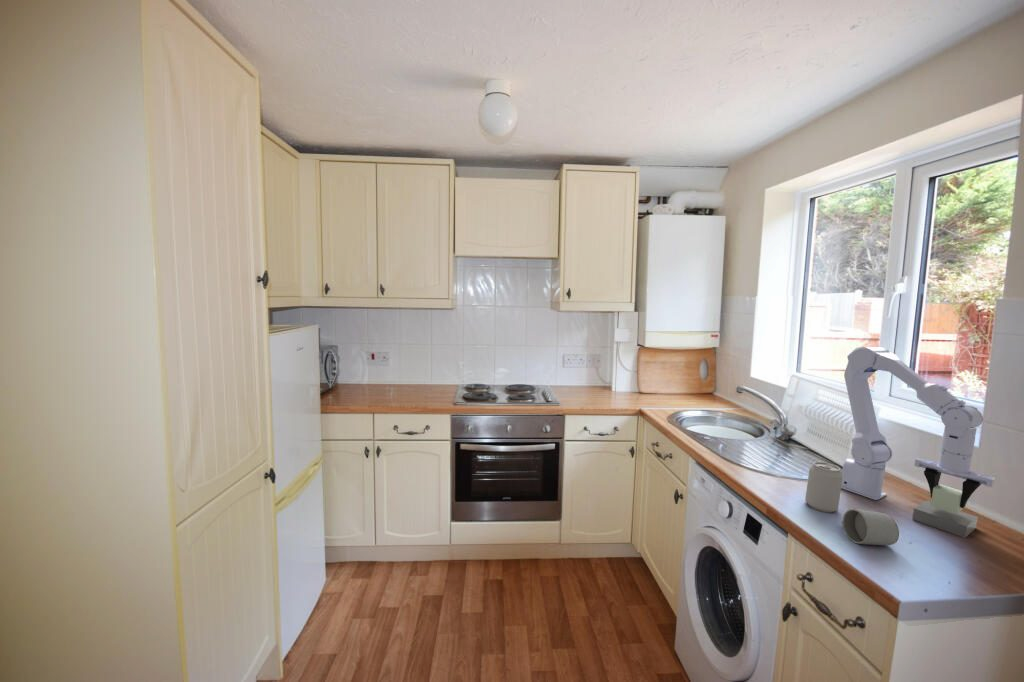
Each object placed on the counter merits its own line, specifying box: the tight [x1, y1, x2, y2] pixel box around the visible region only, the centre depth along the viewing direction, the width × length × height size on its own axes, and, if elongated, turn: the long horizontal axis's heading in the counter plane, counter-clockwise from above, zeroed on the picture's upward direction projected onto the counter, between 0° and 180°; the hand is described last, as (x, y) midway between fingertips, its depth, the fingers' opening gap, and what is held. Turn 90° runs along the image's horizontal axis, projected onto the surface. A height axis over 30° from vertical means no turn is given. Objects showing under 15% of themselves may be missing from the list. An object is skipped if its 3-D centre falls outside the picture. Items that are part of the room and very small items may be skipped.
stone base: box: [912, 500, 979, 539], centre depth 114 cm, size 10×10×3 cm
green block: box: [930, 483, 964, 515], centre depth 113 cm, size 5×5×5 cm
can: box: [805, 461, 843, 513], centre depth 119 cm, size 8×8×12 cm
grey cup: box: [841, 508, 900, 546], centre depth 104 cm, size 11×8×8 cm
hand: (947, 502), depth 114 cm, fingers closed on green block, 5 cm apart
